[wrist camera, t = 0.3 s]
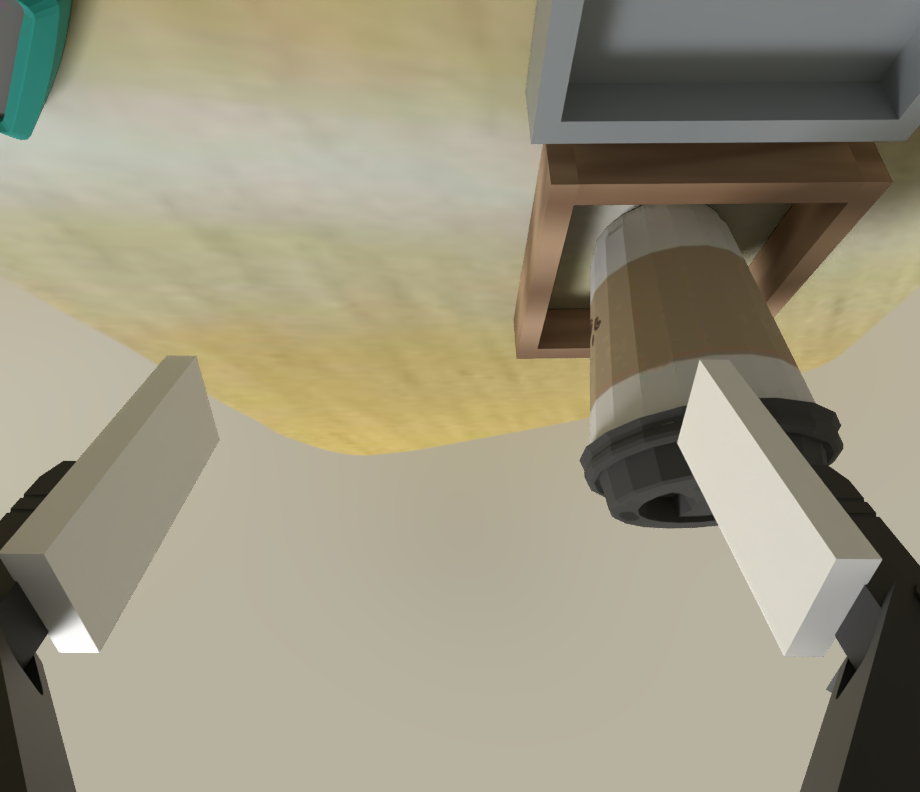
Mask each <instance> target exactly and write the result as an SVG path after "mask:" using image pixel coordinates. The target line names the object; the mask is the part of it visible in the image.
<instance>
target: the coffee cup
mask: <svg viewBox="0 0 920 792" xmlns="http://www.w3.org/2000/svg"><path fill="white" fill-rule="evenodd" d="M700 359H703V360H730V362H731V363H732V364H733V366H734V367H735V368H736V369H737V371H738V372H739V373H740V375H741V376H742V377H743V379H744V380H745V381H746V382H747V384H748V385H749V386H750V388H751V389H752V390H753V392H754V393H755V394H756V396H757V397H758V398H759V399H760V401H761V402H762V403H763V405H764V406H765V407H766V409H767V410H768V411H769V412H770V414H771V415H772V416H773V418H774V419H775V420H776V422H777V423H778V424H779V425H780V427H781V428H782V429H783V431H784V432H785V433H786V435H787V436H788V437H789V438H790V440H791V441H792V442H793V444H794V445H795V446H796V448H797V449H798V450H799V451H800V453H801V454H802V455H803V457H804V458H805V459H806V461H807V462H808V463H809V464H812V465H828V466H829V465H830V464H832V463H833V462H834V461H835V460H836V458H837V457H838V455H839V454H840V453H841V451H842V450H843V443H842V440H841V438H840V437H839V434H838V430H839V428H840V427H841V424H840V423H839V420H838V418H837V415H836V413H835V412H833V411H831V410H829V409H827V408H825V407H822V406H820V405H818V404H816V403H815V401H814V399H813V397H812V395H811V393H810V391H809V389H808V387H807V385H806V383H805V381H804V379H803V377H802V375H801V373H800V371H799V369H798V367H797V365H796V362H795V360H794V358H793V356H792V354H791V352H790V350H789V348H788V346H787V344H786V342H785V340H784V338H783V336H782V334H781V332H780V330H779V328H778V326H777V324H776V322H775V320H774V318H773V316H772V314H771V312H770V310H769V308H768V306H767V304H766V302H765V300H764V298H763V296H762V294H761V292H760V290H759V288H758V286H757V284H756V282H755V280H754V278H753V276H752V274H751V272H750V270H749V268H748V266H747V264H746V262H745V260H744V258H743V256H742V254H741V251H740V249H739V247H738V245H737V243H736V241H735V239H734V237H733V235H732V233H731V231H730V229H729V227H728V225H727V223H726V222H724V221H723V220H721V219H720V217H719V215H718V213H717V212H716V211H715V210H714V209H712V208H711V207H709V206H708V205H706V204H653V205H642V206H640V207H638V208H636V209H634V210H632V211H630V212H627V213H625V214H623V215H622V216H620V217H619V218H618V219H617V220H615V221H614V222H613V223H611V224H610V225H609V226H608V227H607V228H606V229H605V230H604V232H603V233H602V234H601V236H600V237H599V238H598V240H597V243H596V246H595V250H594V256H593V260H592V263H591V267H590V444H589V445H588V446H587V447H586V448H585V450H584V452H583V454H582V457H581V458H580V462H581V465H582V467H583V469H584V471H585V472H584V474H585V479H586V481H587V483H588V485H589V487H590V489H591V490H592V491H594V492H596V493H598V494H599V495H601V496H604V497H605V498H606V501H607V505H608V507H609V510H610V513H611V515H612V517H614V518H615V519H618V520H620V521H622V522H624V523H626V524H631V525H636V526H642V527H654V528H697V527H706V526H718V523H717V521H716V519H715V517H714V515H713V513H712V511H711V509H710V507H709V505H708V503H707V501H706V499H705V497H704V495H703V493H702V491H701V489H700V487H699V486H698V484H697V482H696V480H695V478H694V476H693V474H692V472H691V470H690V468H689V466H688V464H687V462H686V460H685V458H684V456H683V454H682V452H681V450H680V448H679V446H678V444H677V442H678V438H679V434H680V431H681V427H682V423H683V419H684V416H685V412H686V408H687V405H688V401H689V397H690V393H691V390H692V386H693V382H694V379H695V375H696V371H697V367H698V364H699V360H700Z"/></svg>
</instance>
